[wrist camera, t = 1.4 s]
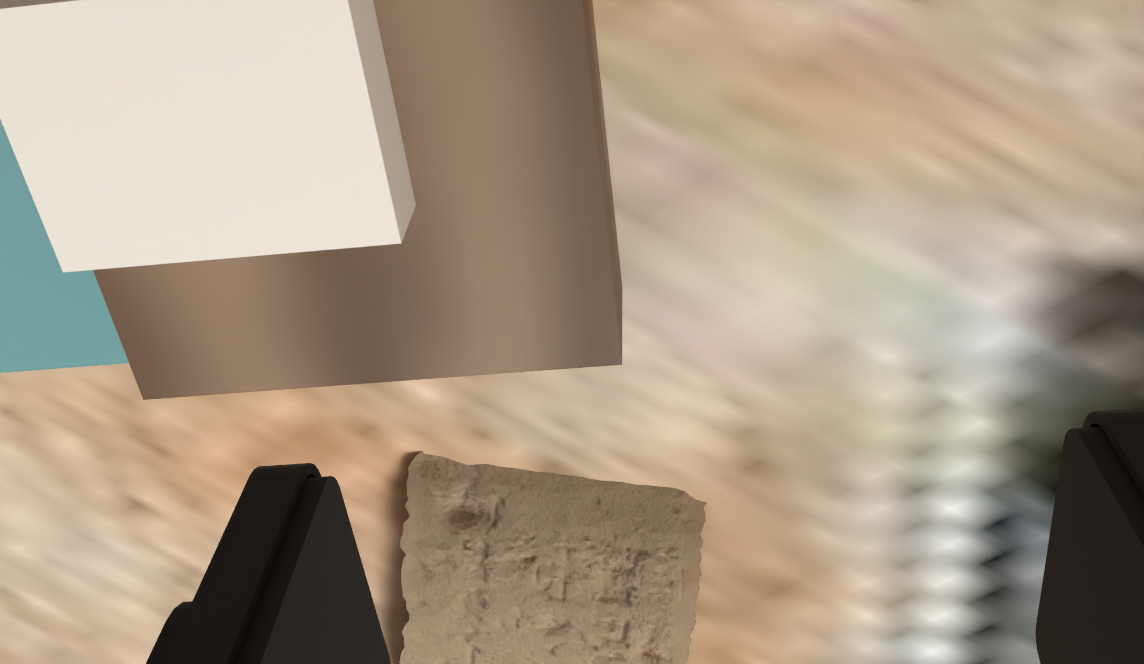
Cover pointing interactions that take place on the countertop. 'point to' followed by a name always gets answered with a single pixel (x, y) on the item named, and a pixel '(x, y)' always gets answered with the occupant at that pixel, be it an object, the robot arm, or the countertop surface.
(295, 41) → the tile
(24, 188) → the mat
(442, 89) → the brown flat block
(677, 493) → the clay tablet
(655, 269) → the countertop surface
